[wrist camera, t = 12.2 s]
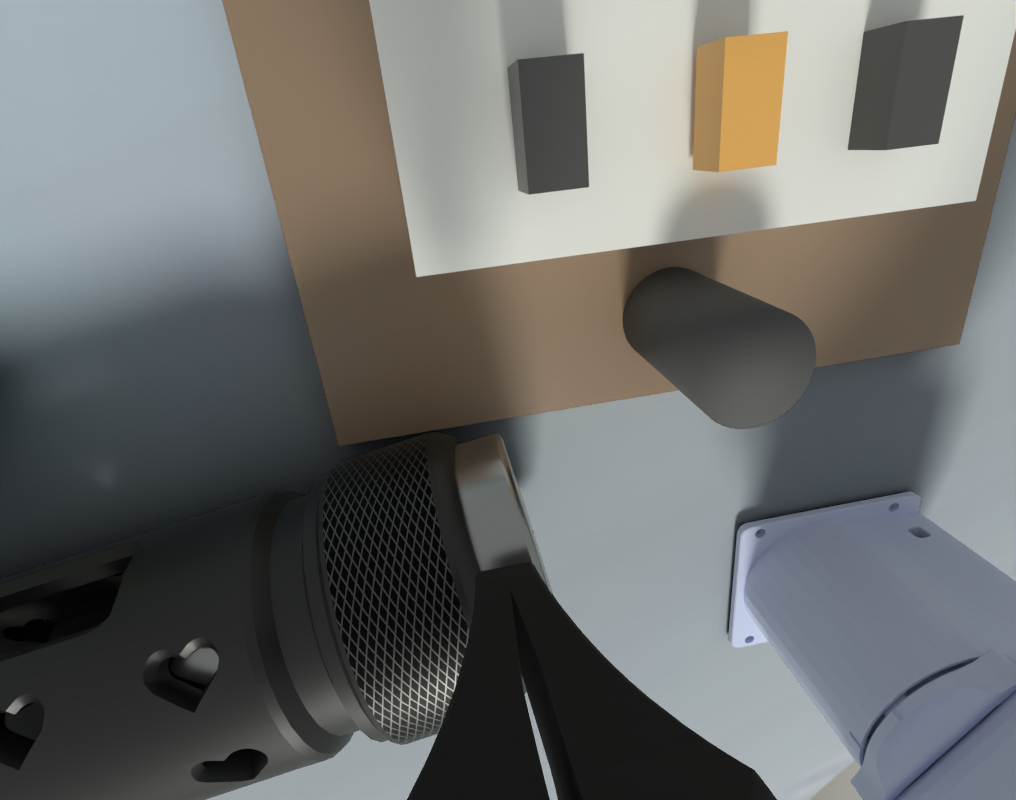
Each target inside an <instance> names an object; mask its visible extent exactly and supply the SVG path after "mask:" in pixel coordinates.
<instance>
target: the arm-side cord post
mask: <svg viewBox="0 0 1016 800" xmlns="http://www.w3.org/2000/svg"><path fill="white" fill-rule="evenodd" d="M623 330H624V334H625V336H626V339H627V341H628V343H629V344H630V345H631V347H632V348H633V349H634V350H635V351H636V352H637V353H638V354H639V355H641V356H642V357H643V358H644V359H645V360H646V361H647V362H648V363H650V364H651V365H652V366H653V367H654V368H655V369H656V370H657V371H658V372H660V373H661V374H662V375H663V376H664V377H665V378H666V379H667V380H668V381H670V382H671V383H672V384H673V385H674V386H675V387H676V388H677V389H679V390H680V391H681V392H682V393H683V394H684V395H685V396H686V397H687V398H689V399H690V400H691V401H692V402H693V403H694V404H695V405H696V406H697V407H699V408H700V409H701V410H702V411H703V412H704V413H705V414H706V415H708V416H709V417H710V418H711V419H712V420H714V421H715V422H716V423H718V424H720V425H723V426H726V427H729V428H735V429H748V428H754V427H758V426H761V425H764V424H767V423H769V422H771V421H773V420H775V419H777V418H778V417H780V416H781V415H783V414H784V413H785V412H787V411H788V410H789V409H790V408H791V407H792V406H793V405H794V404H795V403H796V402H797V401H798V400H799V399H800V397H801V396H802V394H803V393H804V392H805V390H806V388H807V386H808V385H809V382H810V380H811V378H812V375H813V372H814V368H815V363H816V346H815V341H814V338H813V335H812V333H811V331H810V329H809V328H808V326H807V325H806V324H805V323H804V322H803V321H802V320H801V319H800V318H798V317H797V316H795V315H793V314H791V313H789V312H787V311H785V310H782V309H780V308H778V307H775V306H773V305H771V304H768V303H766V302H764V301H762V300H759V299H757V298H755V297H752V296H750V295H748V294H745V293H743V292H741V291H738V290H736V289H734V288H732V287H729V286H727V285H725V284H722V283H720V282H718V281H715V280H713V279H711V278H709V277H706V276H704V275H702V274H699V273H697V272H695V271H692V270H690V269H687V268H683V267H668V268H664V269H661V270H658V271H656V272H654V273H651V274H650V275H648V276H647V277H645V278H644V279H643V280H642V281H641V282H640V283H639V284H638V285H637V286H636V287H635V288H634V290H633V291H632V292H631V294H630V296H629V298H628V300H627V302H626V305H625V308H624V312H623Z"/></svg>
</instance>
